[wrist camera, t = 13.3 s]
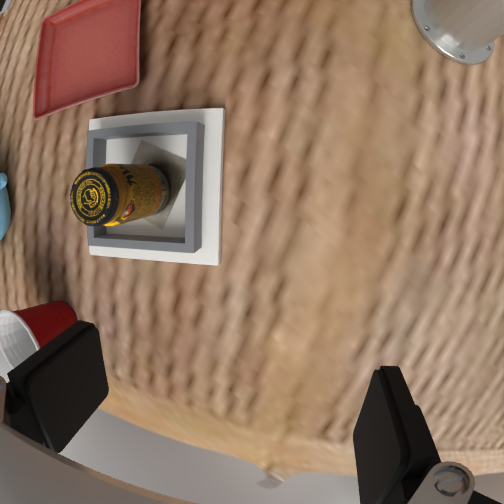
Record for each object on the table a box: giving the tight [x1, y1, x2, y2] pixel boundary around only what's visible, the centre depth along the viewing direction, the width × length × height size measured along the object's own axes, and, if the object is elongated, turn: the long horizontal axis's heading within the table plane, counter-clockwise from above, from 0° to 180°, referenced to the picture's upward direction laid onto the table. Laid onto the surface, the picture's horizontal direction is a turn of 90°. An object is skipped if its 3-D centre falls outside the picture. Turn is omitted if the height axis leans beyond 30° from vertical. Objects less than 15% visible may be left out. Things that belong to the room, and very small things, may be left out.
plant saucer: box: [33, 0, 141, 120], centre depth 33 cm, size 18×18×3 cm
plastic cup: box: [0, 301, 77, 369], centre depth 39 cm, size 11×11×12 cm
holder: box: [86, 108, 225, 265], centre depth 36 cm, size 18×18×4 cm
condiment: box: [70, 140, 186, 230], centre depth 31 cm, size 7×8×12 cm
